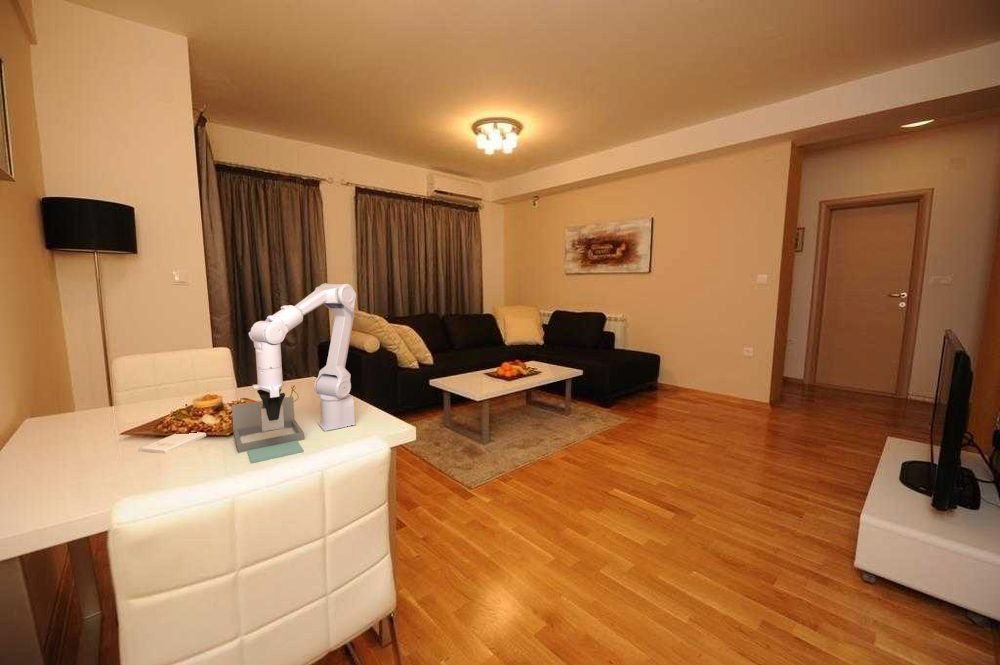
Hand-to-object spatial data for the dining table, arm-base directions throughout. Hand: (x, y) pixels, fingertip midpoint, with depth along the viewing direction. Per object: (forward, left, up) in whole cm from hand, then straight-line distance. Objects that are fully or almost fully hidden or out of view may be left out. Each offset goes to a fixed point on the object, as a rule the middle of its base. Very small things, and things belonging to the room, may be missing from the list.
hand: (272, 417), depth 109 cm
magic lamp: (-3, -29, -9) cm, 31 cm away
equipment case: (0, -10, -9) cm, 13 cm away
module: (0, 0, -3) cm, 3 cm away
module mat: (0, +2, -9) cm, 9 cm away
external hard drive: (+22, -20, -10) cm, 31 cm away
